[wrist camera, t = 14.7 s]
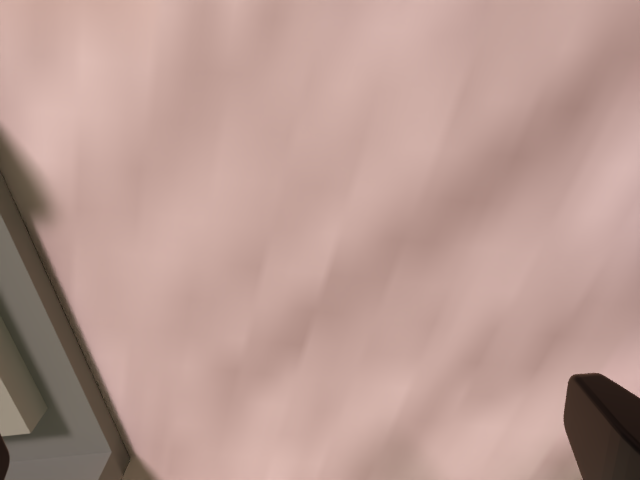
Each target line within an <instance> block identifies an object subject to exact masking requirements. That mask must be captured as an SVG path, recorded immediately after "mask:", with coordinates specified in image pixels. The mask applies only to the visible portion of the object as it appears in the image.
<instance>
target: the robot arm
mask: <svg viewBox="0 0 640 480" xmlns="http://www.w3.org/2000/svg"><path fill="white" fill-rule="evenodd" d="M564 426H565V430H566V433H567V436H568V439H569V442H570V445H571V447H572V450H573V453H574V456H575V459H576V461H577V464H578V467H579V470H580V473H581V475H582V478H583V480H640V398H639V397H637V396H636V395H634V394H632V393H631V392H629V391H628V390H626V389H624V388H623V387H621V386H620V385H618V384H617V383H615V382H613V381H612V380H610V379H609V378H607V377H605V376H604V375H602V374H599V373H588V374H575V375H573V376H571V377H570V379H569V381H568V387H567V394H566V402H565V409H564ZM9 463H10V455H9V451H8V448H7V446H6V444H5V442H4V440H3V438H2V436H1V434H0V480H4V479H5V477H6V474H7V471H8V468H9Z"/></svg>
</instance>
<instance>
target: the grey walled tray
mask: <svg viewBox="0 0 640 480" xmlns="http://www.w3.org/2000/svg"><path fill="white" fill-rule="evenodd" d="M0 434H1V436H2V438H3V440H4V442H5V444H6V446H7V448H8V451H9V455H10V463H9V468H8V471H7V474H6V477H5V479H4V480H121V479H122V477H123V475H124V472H125V470H126V468H127V466H128V463H129V461H130V457H129V455H128V453H127V451H126V449H125V446H124V444H123V442H122V440H121V438H120V435H119V433H118V431H117V429H116V426H115V424H114V422H113V420H112V418H111V415H110V413H109V411H108V409H107V407H106V404H105V402H104V400H103V398H102V395H101V393H100V391H99V389H98V387H97V384H96V382H95V380H94V378H93V376H92V373H91V371H90V369H89V367H88V364H87V362H86V360H85V358H84V356H83V353H82V351H81V349H80V347H79V345H78V342H77V340H76V338H75V336H74V333H73V331H72V329H71V327H70V325H69V322H68V320H67V318H66V316H65V314H64V311H63V309H62V307H61V305H60V302H59V300H58V298H57V296H56V294H55V291H54V289H53V287H52V285H51V283H50V280H49V278H48V276H47V274H46V271H45V269H44V267H43V265H42V263H41V260H40V258H39V256H38V254H37V252H36V249H35V247H34V245H33V243H32V240H31V238H30V236H29V234H28V232H27V229H26V227H25V225H24V223H23V221H22V218H21V216H20V214H19V212H18V209H17V207H16V205H15V203H14V201H13V198H12V196H11V194H10V192H9V190H8V187H7V185H6V183H5V181H4V178H3V176H2V174H1V172H0Z"/></svg>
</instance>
